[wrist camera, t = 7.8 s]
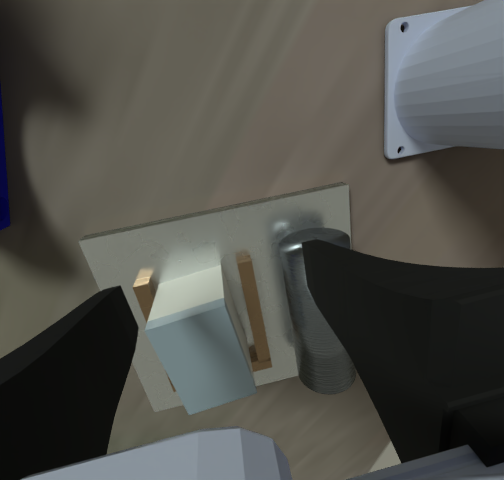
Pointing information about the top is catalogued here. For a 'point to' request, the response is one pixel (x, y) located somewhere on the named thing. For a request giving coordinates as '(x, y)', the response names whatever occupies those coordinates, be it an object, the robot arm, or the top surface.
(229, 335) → the block
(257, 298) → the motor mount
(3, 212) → the cable clip
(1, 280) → the top surface
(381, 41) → the top surface
